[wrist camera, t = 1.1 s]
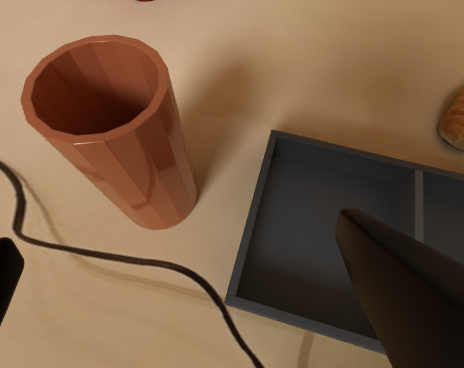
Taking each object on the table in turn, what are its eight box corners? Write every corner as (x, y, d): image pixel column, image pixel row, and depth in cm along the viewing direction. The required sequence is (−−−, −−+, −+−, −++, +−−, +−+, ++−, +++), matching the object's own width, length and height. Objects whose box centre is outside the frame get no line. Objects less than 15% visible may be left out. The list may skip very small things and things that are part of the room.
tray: (578, 414, 18) (649, 435, 15) (225, 304, 21) (224, 302, 18) (539, 217, 24) (585, 203, 21) (266, 150, 26) (271, 129, 23)
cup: (182, 239, 23) (131, 159, 11) (110, 218, 23) (-11, 122, 12) (207, 171, 25) (187, 49, 14) (141, 154, 26) (69, 24, 14)
